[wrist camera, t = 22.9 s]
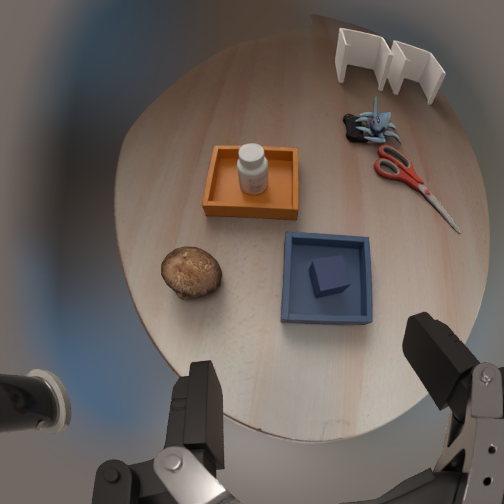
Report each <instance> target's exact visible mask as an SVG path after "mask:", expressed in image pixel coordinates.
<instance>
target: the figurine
mask: <svg viewBox="0 0 504 504" xmlns="http://www.w3.org/2000/svg"><path fill="white" fill-rule="evenodd" d="M359 116H366V117H372V118H373V119H372V120H371V121H370V123H369V121H368V119H367V118H364V117H362V118H360V117H356V116H354V115H351V114H346V115H345V116H344V117H343V121H344V123H345V125H346V130H347V133H346V137H347V139H348V140H350V141H352V142H356V141H361V142H367V141H368V140H370V141H372V142H376V143H385V141H386V140H385V138H384V136H386V137H389V136H391V137H394V138H395V139H396V140H397V141H398V142H399V143H400V144H401V141H400V138H399V137H398V135H396V134H395V133H393V132H390V131H387V129H388V127H389V128H392V129H394V130H396V127H395V125H394V124H391V123H389V121H390V117H391V113H389V112H384V113H381V114H378V115H377V99H376V96H375V99H374V113H373V112H365V113H362V114H360V115H359ZM362 121H365V122H366V124H367V126H368V128H369V129H368V128H366V127H361V125H362ZM363 131H365V132H367V133H368V134H369V136H370V137H365V136H364V135H363ZM371 131H373V132H371ZM376 135H377V137H378V138H374V136H376Z"/></svg>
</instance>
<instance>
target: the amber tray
mask: <svg viewBox="0 0 504 504" xmlns="http://www.w3.org/2000/svg"><path fill="white" fill-rule="evenodd" d="M241 147H242V146H214V150H213V154H212V159H211V163H210V168H209V173H208V177H207V182H206V187H205V192H204V197H203V202H202V207H203V209H204V212H205V214H206V216H229V217H251V218H271V219H288V220H297V214H298V148H287V147H266V146H261V147H262V148H263V149H264V156H265V158H266V159H267V162H268V186H267V188H266V190H265V191H264V192H262V193H260V194H257V195H250V194H247V193H245V192H244V191H243V190H242V189H241V187H240V183H239V176H238V170H237V162H238V159H239V150H240V148H241Z"/></svg>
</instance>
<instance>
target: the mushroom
mask: <svg viewBox="0 0 504 504" xmlns="http://www.w3.org/2000/svg"><path fill="white" fill-rule="evenodd" d="M161 275H162V277H163V279H164V280H165V282H166V284H167V285H168V286H169V287H170V288H172V289H173V290H174V291H175V292H176V293H177V295H178V297H179V298H181V299H183V300H190V299H191V297H201V296H204V295H207V294H209V293H212V292H214V290H215V289H216V288H217V287H218V286H219V285H220V282H221V277H222V271H221V268H220V266H219V264H218V262H217V261H216V260H215V259H214V258H213V257H212V256H211V255H210V254H209V253H207V252H206V251H204V250H202V249H199V248H197V247H181V248H177V249H175V250H173V251H172V252H170V253H169V254H168V255H167V256H166V257H165V259H164V260H163V262H162V265H161Z"/></svg>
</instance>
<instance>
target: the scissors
mask: <svg viewBox="0 0 504 504" xmlns="http://www.w3.org/2000/svg"><path fill="white" fill-rule="evenodd" d="M383 150H388V151H390V152H392V153H394V154H395V155H397V156H398V157H399V158H401V159H402V160H403V161H404V162H405V163H406V164H407V167H405V166H404V165H403V164H402V163H400V162H399V161H398V160H397V159H395V158H394V157H392V156H390V155H389V154H387V153H385V152H384V151H383ZM378 152H379V154H380V156H381V157H383V158H380V159H378V160H376V162H375V170H376V171H377V173H378V174H379V175H381V176H382V177H385V178H388V179H395V180H401V181H403V182H405V183H407V184H408V185H409V186H411V187H412V188H413V189H415V190H416V191H418V190H420V191H421V193H422V194H423V195H424V196H425V197H426V198H427V199H428V200H429V201H430V203H431V204H432V205H433V206H434V207H435V208H436V209H437V210H438V211H439V212H440V213H441V215H442V216H443V217H444V218H445V219H446V220H447V221H448V222H449V224H450V225H451V226H452V227H453V228H454V229H455V230H456V232H458V233H460V234H461V231H460V230H459V228H458V227H457V225H456V224H455V222H454V221H453V219H452V218H451V217H450V215H449V214H448V213H447V211H446V210H445V209H444V207H443V206H442V205H441V204H440V203H439V201H438V200H437V199H436V198H435V197H434V195H433V194H432V193H431V192H430V191H429V190H428V189H427V188H426V187H425V186H423V184H424V182H423V181H422V180H421V179H420V178H419V176H418V175H417V174H416V173H415V171H414V169H413V166H412V163H411V161H410V160H409V159H408V158H407V157H406V156H405V155H404V154H403V153H401V152H400V151H398V150H397V149H395V148H393V147H391V146H389V145H382V146H380V147H379V149H378ZM384 158H385V159H384ZM380 164H386V165H388V166H390V167H391V168H392V169H393V170H394V171H395V172H396V174H391V173H387V172H385V171H383V170H382V169H381V168H380Z"/></svg>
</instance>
